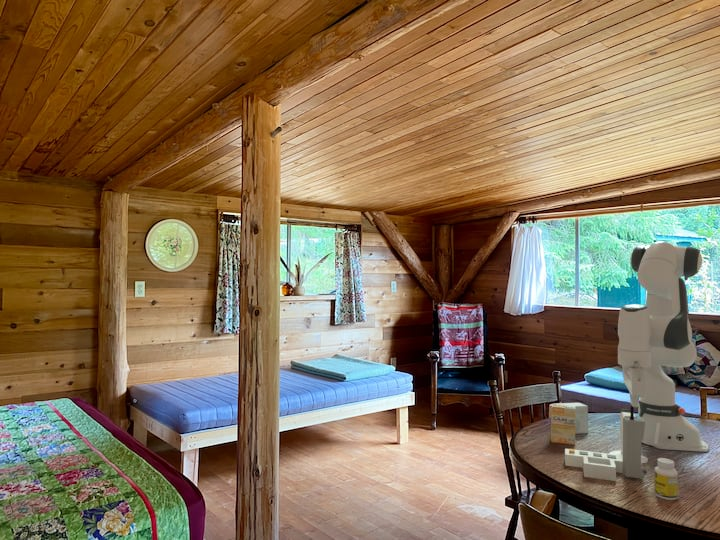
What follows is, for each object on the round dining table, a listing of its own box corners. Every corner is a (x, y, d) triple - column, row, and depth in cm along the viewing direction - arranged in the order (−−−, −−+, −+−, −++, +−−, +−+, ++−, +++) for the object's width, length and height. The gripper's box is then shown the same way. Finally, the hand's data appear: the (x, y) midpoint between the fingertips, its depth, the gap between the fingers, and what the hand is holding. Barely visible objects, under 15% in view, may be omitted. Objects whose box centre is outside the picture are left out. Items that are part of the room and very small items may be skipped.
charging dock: (644, 469, 159) (644, 455, 159) (651, 486, 146) (651, 471, 146) (565, 459, 167) (565, 446, 167) (565, 474, 154) (565, 460, 154)
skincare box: (579, 428, 201) (579, 401, 201) (588, 433, 195) (588, 406, 195) (554, 429, 200) (554, 402, 200) (563, 434, 193) (563, 406, 193)
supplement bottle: (650, 492, 142) (650, 457, 142) (668, 491, 142) (668, 456, 142) (663, 501, 136) (663, 464, 136) (682, 500, 137) (682, 463, 137)
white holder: (651, 466, 161) (651, 419, 161) (611, 462, 165) (611, 415, 165) (644, 454, 172) (644, 409, 172) (607, 450, 176) (607, 406, 176)
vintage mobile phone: (644, 478, 149) (645, 393, 149) (626, 477, 150) (627, 392, 150) (640, 474, 153) (641, 390, 153) (622, 472, 154) (623, 389, 154)
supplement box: (550, 442, 184) (550, 406, 184) (551, 438, 188) (551, 403, 188) (575, 445, 180) (575, 408, 181) (575, 441, 185) (575, 405, 185)
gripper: (652, 365, 141) (652, 415, 140) (641, 354, 160) (641, 398, 159) (626, 364, 143) (626, 413, 143) (618, 353, 162) (619, 397, 162)
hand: (634, 405), depth 151 cm, fingers closed on vintage mobile phone
